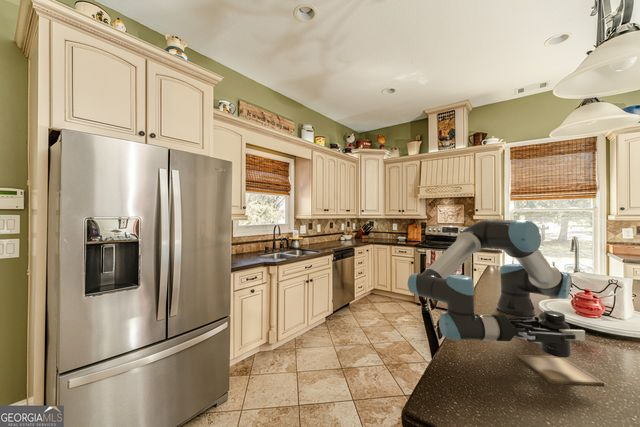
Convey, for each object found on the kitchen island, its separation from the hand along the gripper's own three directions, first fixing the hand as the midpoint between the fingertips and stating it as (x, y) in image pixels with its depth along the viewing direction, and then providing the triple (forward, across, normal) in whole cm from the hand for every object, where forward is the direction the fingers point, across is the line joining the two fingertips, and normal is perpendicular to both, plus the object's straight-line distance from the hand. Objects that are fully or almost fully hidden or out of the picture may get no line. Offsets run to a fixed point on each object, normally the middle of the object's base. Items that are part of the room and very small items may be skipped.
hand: (572, 330), depth 81 cm
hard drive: (+4, -21, -13) cm, 25 cm away
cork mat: (-5, 0, -12) cm, 13 cm away
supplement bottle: (-5, 0, -7) cm, 9 cm away
